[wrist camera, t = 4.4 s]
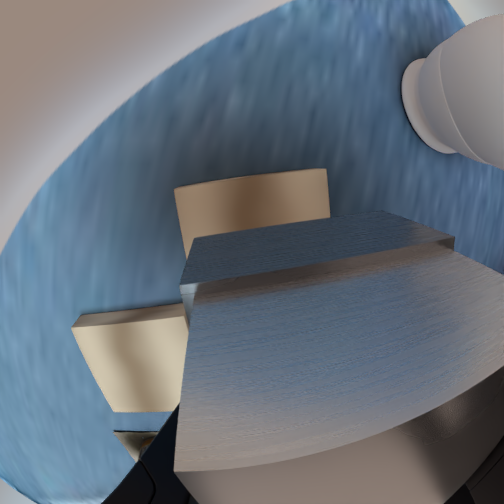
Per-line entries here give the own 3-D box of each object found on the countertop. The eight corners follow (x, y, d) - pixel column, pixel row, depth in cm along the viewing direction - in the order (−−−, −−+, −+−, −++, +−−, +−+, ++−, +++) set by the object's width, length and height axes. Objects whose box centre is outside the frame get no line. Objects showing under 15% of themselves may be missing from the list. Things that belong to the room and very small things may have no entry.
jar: (480, 94, 17) (601, 90, 3) (461, 185, 20) (603, 225, 6) (400, 27, 15) (532, -34, 1) (373, 126, 18) (566, 110, 4)
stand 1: (186, 302, 20) (184, 316, 18) (211, 391, 23) (211, 407, 21) (80, 315, 19) (71, 327, 17) (118, 397, 22) (114, 411, 20)
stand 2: (315, 168, 18) (326, 168, 16) (323, 291, 21) (333, 303, 19) (178, 186, 18) (173, 189, 16) (203, 312, 20) (202, 327, 18)
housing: (382, 210, 7) (573, 294, 2) (368, 394, 10) (437, 510, 4) (193, 237, 7) (137, 457, 1) (237, 425, 9) (257, 569, 4)
